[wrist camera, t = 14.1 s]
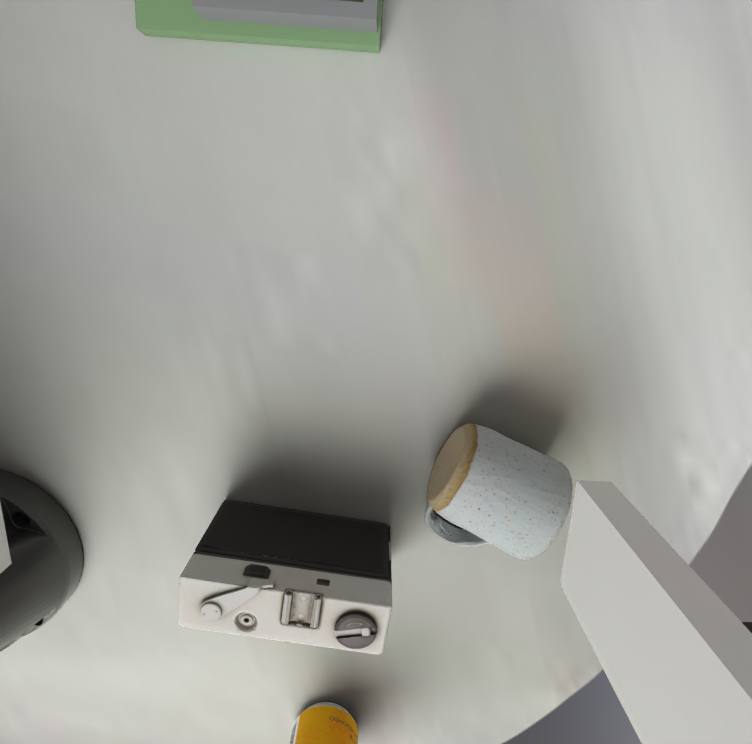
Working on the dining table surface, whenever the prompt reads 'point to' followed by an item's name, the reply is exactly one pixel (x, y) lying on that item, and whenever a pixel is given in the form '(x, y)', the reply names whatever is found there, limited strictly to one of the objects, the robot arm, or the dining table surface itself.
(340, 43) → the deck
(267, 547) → the camera
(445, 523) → the ceramic mug
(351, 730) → the white and yellow cylinder
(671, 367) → the dining table surface
